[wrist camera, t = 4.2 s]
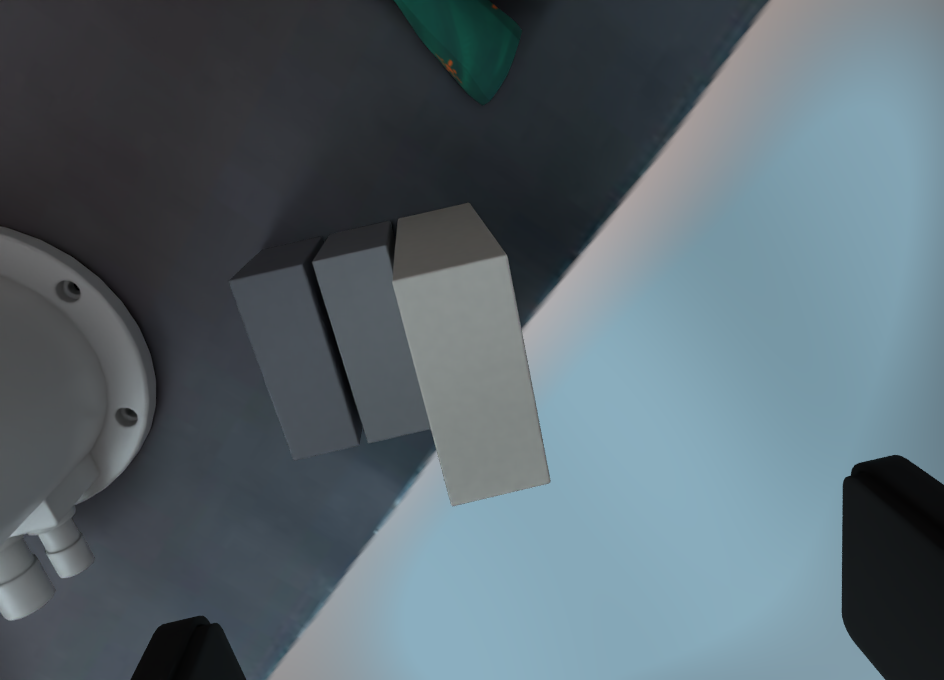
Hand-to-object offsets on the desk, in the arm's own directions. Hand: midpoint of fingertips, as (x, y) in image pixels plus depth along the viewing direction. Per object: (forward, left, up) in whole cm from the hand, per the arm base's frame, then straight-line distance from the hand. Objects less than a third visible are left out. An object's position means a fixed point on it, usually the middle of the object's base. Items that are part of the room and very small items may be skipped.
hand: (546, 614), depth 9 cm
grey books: (0, +5, -18) cm, 19 cm away
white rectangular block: (0, 0, -18) cm, 18 cm away
